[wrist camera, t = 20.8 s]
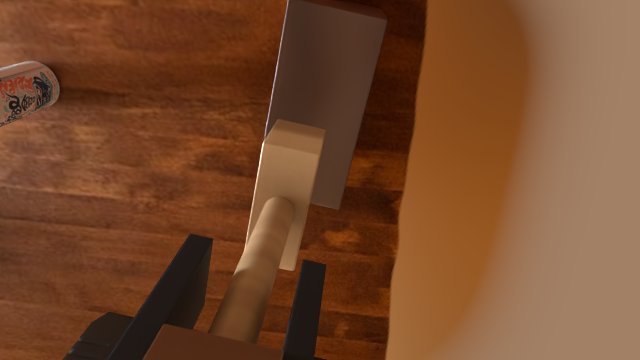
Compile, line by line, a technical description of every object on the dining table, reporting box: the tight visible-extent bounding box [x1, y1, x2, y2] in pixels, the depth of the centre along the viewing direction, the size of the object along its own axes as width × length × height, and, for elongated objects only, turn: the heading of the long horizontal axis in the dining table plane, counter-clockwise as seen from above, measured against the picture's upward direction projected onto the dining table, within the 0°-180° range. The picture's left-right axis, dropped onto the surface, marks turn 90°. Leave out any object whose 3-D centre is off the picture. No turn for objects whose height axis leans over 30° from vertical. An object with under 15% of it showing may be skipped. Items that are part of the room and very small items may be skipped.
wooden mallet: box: [143, 119, 326, 360], centre depth 17 cm, size 6×3×17 cm, turn 168°
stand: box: [264, 0, 388, 209], centre depth 41 cm, size 7×15×12 cm, turn 168°
